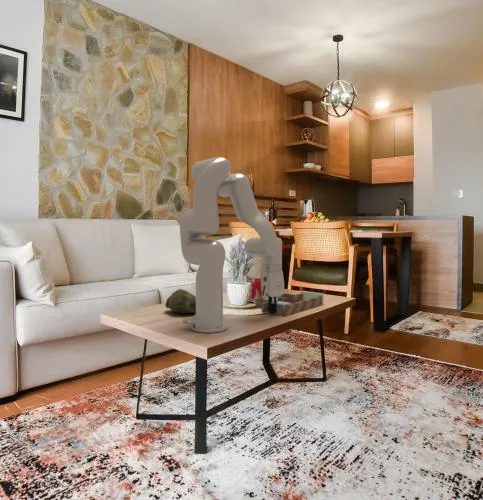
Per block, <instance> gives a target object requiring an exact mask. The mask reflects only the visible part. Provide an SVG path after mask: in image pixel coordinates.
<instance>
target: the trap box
mask: <svg viewBox="0 0 483 500" xmlns="http://www.w3.org/2000/svg"><path fill="white" fill-rule="evenodd" d="M263 297H264V296H263ZM263 297H260V298H255V303H254V305H255V306H254V307H255V308H256V309H261V313H262V312H263V314H264V313H265V314H266V313H269V312H268V303H267V300H263ZM278 301H281V302H288V303H291V304H289V305H285V306H282V314H281V317H287V316H291V315H294V314H297V312H298V313H300V311H301V312H304V311H307V310H311V309H314V308H316V307H320V306H323V305H322V296H318V297H314V298H311V299H307V300H303V294H302V293H301V292H300V293H297V294H295V293H293V294H292V293H285V292H284V294H283V295H281V297H279V298H278Z"/></svg>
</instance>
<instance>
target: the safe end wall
mask: <svg viewBox="0 0 483 500" xmlns="http://www.w3.org/2000/svg"><path fill="white" fill-rule="evenodd" d="M300 293H302V294H303V300H307V299H311V298H314V297H318V296H322V305H321V306H323V305H324V302H325V300H324V297H325V296H324V295H325V293H321V292H315V291H314V292H313V291H307V290H301V291H300Z"/></svg>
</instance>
